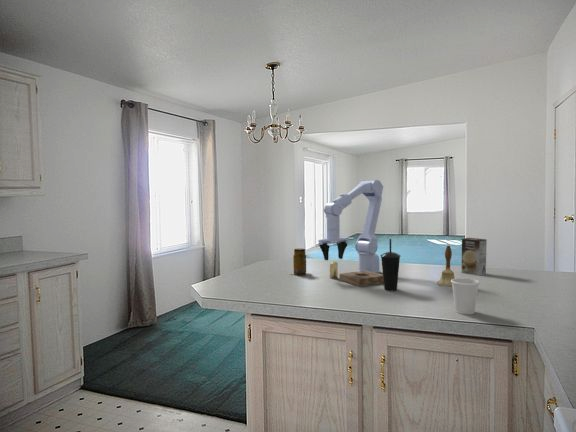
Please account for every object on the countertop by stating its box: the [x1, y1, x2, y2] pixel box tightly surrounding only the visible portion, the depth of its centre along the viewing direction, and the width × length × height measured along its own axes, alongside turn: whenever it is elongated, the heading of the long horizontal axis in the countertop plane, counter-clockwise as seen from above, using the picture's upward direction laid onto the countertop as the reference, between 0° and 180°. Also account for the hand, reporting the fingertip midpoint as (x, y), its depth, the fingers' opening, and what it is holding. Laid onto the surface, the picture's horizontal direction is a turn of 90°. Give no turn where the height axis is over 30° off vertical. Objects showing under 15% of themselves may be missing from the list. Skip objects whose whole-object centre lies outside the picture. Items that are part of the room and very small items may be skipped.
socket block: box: [339, 270, 384, 287], centre depth 184 cm, size 14×14×3 cm
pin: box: [329, 261, 339, 280], centre depth 193 cm, size 4×4×7 cm
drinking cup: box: [379, 238, 401, 292], centre depth 168 cm, size 8×8×20 cm
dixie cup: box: [451, 277, 480, 315], centre depth 135 cm, size 8×8×10 cm
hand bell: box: [436, 245, 456, 287], centre depth 175 cm, size 8×8×16 cm
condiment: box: [289, 248, 312, 277], centre depth 203 cm, size 7×8×12 cm
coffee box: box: [460, 237, 488, 276], centre depth 197 cm, size 9×6×16 cm
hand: (333, 259), depth 192 cm, fingers open, 7 cm apart
